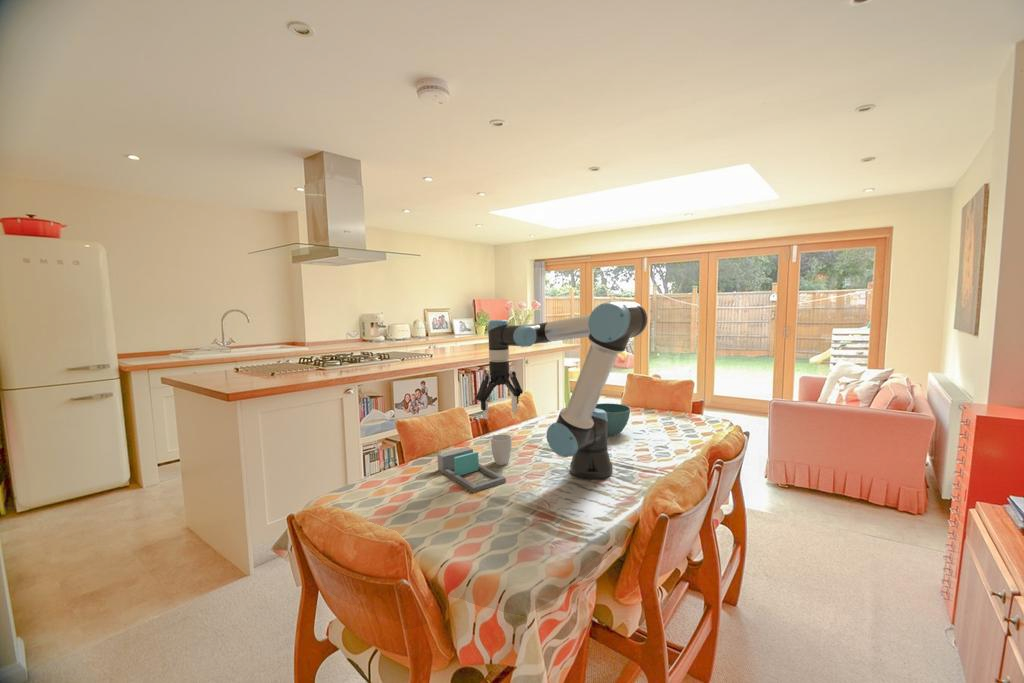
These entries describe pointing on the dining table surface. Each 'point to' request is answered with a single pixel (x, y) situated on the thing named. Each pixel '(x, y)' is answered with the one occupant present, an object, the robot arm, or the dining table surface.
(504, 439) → the cup
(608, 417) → the teal bowl
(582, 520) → the dining table surface
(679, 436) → the dining table surface
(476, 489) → the tray
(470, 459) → the block
